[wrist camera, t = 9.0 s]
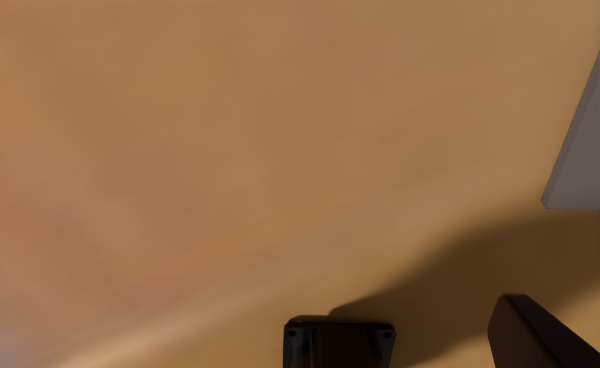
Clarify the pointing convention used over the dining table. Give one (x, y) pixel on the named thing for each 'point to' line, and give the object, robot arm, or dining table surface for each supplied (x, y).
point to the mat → (579, 155)
